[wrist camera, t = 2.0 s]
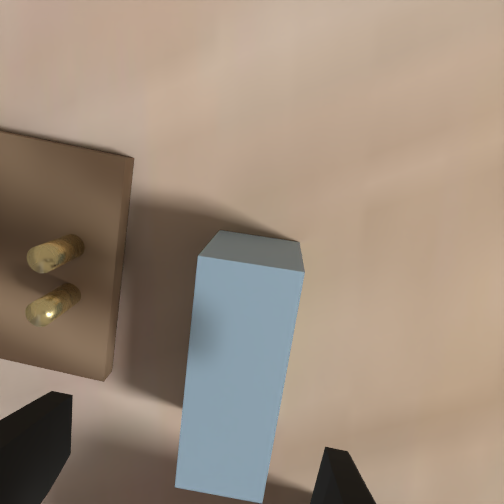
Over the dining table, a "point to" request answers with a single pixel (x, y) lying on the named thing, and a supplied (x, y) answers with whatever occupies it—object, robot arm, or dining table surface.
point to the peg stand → (61, 253)
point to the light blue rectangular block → (237, 362)
